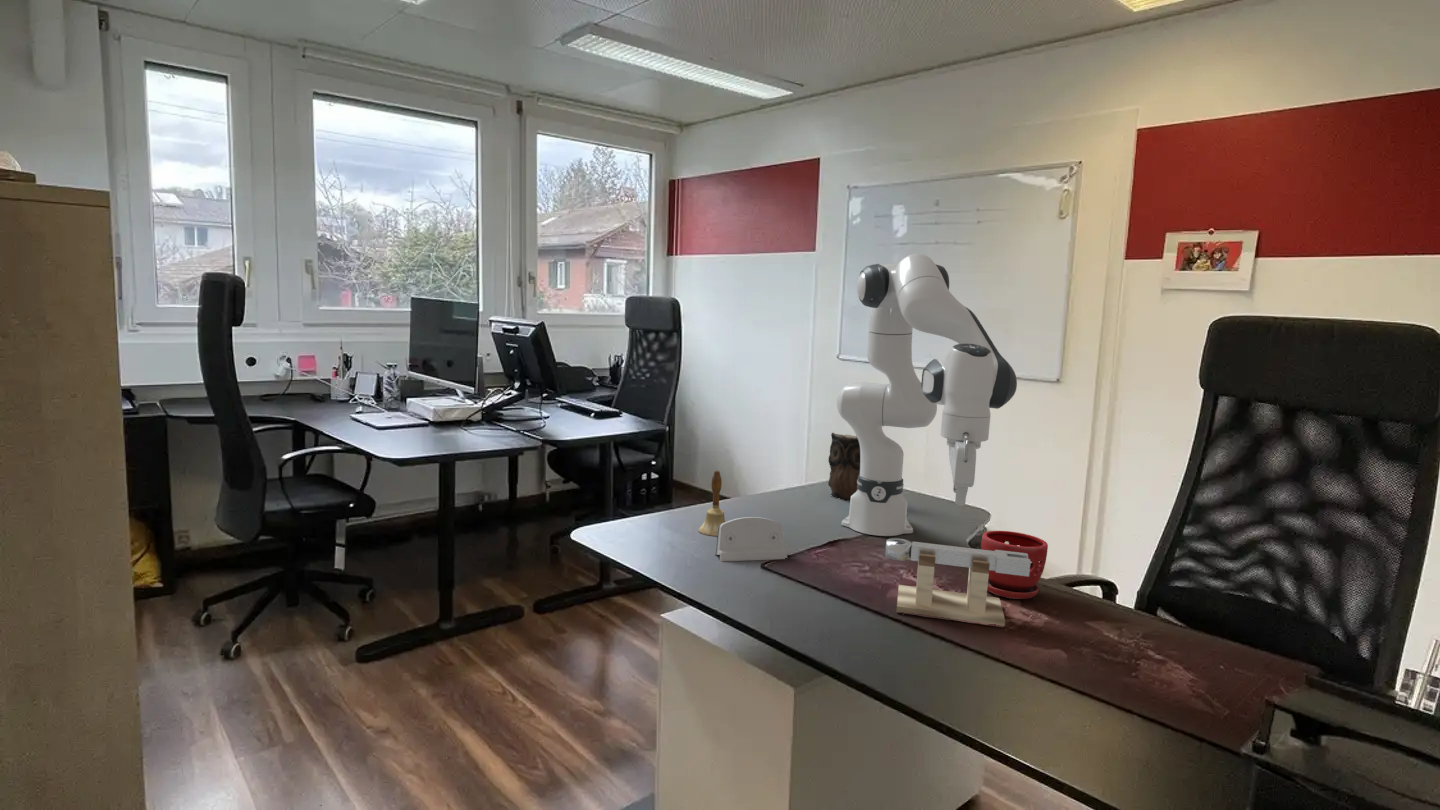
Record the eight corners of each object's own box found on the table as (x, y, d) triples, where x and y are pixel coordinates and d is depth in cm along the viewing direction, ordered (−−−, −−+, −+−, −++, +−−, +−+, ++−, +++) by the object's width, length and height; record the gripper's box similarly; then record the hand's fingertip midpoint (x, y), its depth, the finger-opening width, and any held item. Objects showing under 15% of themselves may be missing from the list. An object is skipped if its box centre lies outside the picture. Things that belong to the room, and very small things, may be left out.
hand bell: (734, 535, 196) (737, 474, 194) (702, 536, 194) (704, 474, 192) (726, 526, 204) (728, 466, 202) (695, 527, 202) (697, 467, 200)
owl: (873, 503, 234) (878, 438, 231) (832, 502, 233) (836, 437, 230) (862, 493, 246) (867, 431, 243) (823, 492, 245) (827, 430, 242)
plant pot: (1048, 606, 158) (1055, 550, 156) (982, 599, 160) (987, 543, 159) (1035, 584, 171) (1040, 531, 169) (973, 577, 173) (978, 525, 171)
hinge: (719, 561, 176) (717, 517, 178) (714, 561, 181) (713, 518, 183) (789, 558, 180) (786, 515, 182) (782, 559, 185) (780, 516, 187)
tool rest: (898, 591, 162) (902, 538, 161) (998, 605, 158) (1003, 550, 156) (896, 613, 151) (900, 556, 149) (1004, 628, 146) (1010, 570, 144)
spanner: (884, 558, 154) (885, 543, 153) (885, 551, 159) (886, 536, 158) (1029, 576, 147) (1030, 560, 147) (1025, 568, 152) (1027, 552, 152)
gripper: (986, 440, 138) (979, 514, 140) (978, 422, 158) (972, 487, 160) (949, 437, 140) (943, 510, 142) (946, 419, 160) (940, 484, 162)
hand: (958, 498), depth 151 cm, fingers open, 8 cm apart
